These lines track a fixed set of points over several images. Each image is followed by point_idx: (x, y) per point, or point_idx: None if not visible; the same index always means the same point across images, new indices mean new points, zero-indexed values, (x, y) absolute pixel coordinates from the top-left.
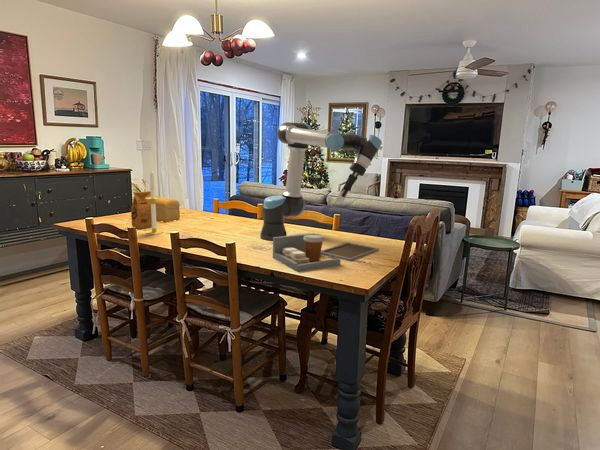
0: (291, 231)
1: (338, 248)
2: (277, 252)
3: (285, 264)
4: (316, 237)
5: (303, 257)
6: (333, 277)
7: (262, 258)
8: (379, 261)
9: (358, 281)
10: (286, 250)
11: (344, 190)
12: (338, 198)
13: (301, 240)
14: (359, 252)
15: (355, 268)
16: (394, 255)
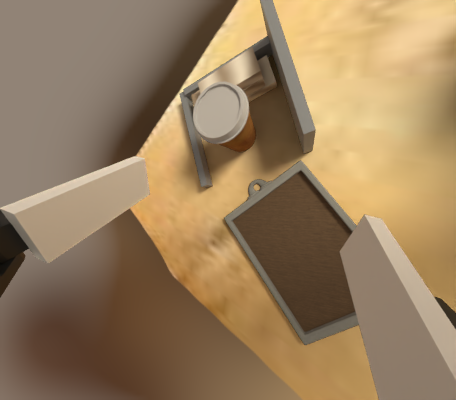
0: None
1: (347, 235)
2: (266, 44)
3: None
4: (205, 118)
5: None
6: (154, 156)
7: None
8: (214, 278)
9: None
10: (234, 60)
11: (17, 217)
12: (114, 165)
13: (288, 92)
14: (290, 274)
15: (184, 208)
16: (250, 345)
